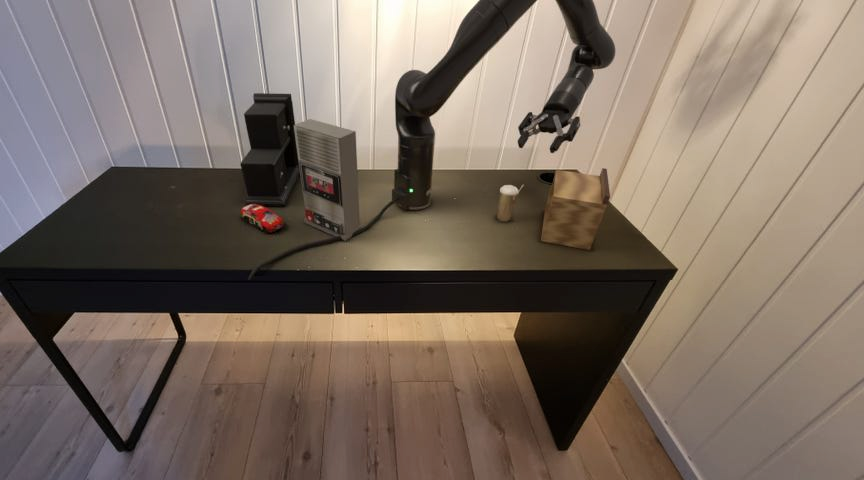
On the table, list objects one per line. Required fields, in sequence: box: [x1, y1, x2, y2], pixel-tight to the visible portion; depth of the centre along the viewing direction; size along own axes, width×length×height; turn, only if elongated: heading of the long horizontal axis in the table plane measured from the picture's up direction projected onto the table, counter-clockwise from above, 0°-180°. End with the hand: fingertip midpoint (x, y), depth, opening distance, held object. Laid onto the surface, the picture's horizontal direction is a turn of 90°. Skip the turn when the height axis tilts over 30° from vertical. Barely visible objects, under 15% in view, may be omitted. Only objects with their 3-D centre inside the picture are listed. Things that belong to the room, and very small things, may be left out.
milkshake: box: [496, 184, 524, 223], centre depth 103 cm, size 5×5×10 cm
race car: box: [240, 204, 285, 234], centre depth 103 cm, size 13×5×4 cm, turn 49°
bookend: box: [239, 92, 300, 207], centre depth 113 cm, size 23×11×24 cm, turn 178°
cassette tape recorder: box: [294, 118, 362, 242], centre depth 95 cm, size 14×6×25 cm, turn 53°
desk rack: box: [540, 167, 611, 251], centre depth 98 cm, size 11×15×14 cm
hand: (535, 148), depth 104 cm, fingers open, 8 cm apart
